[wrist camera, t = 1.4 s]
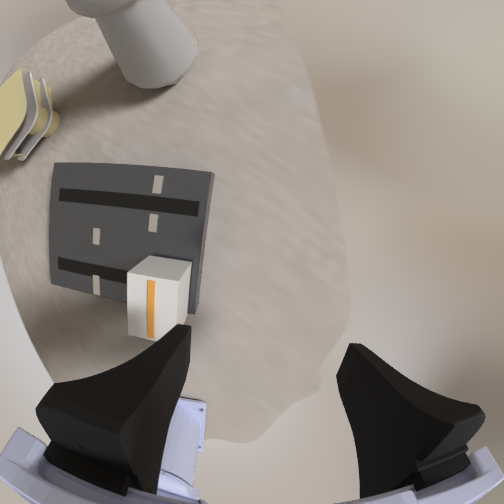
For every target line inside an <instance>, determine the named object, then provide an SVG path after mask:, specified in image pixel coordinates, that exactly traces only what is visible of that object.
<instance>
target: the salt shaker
mask: <svg viewBox="0 0 504 504" xmlns="http://www.w3.org/2000/svg"><path fill="white" fill-rule="evenodd" d="M66 2H67V4H68V5H69V7H70V9H71V10H73V11H74V12H75V13H76V14H79V15H82V16H86V17H90V18H95V19H96V21H97V23H98V25H99V27H100V29H101V31H102V33H103V36H104V38H105V40H106V42H107V44H108V46H109V48H110V50H111V52H112V54H113V56H114V58H115V60H116V62H117V64H118V66H119V68H120V70H121V71H122V73H123V75H124V77H125V79H126V80H127V81H128V82H130V83H132V84H134V85H136V86H138V87H140V88H142V89H145V88H161V87H165V86H170V85H176V84H177V83H178V82H179V81H180V79H181V78H182V77H183V76H184V75H185V74H186V73H187V72H188V71H189V70H190V68H191V66H192V64H193V63H194V61H195V59H196V57H197V40H196V38H195V37H194V36H193V34H192V33H191V31H190V30H189V29H188V27H187V26H186V25H185V23H184V22H183V21H182V19H181V18H180V17H179V16H178V14H177V13H176V12H175V10H174V9H173V8H172V7H171V5H170V4H169V3H168V2H167V0H66Z"/></svg>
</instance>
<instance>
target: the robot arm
mask: <svg viewBox="0 0 504 504" xmlns="http://www.w3.org/2000/svg"><path fill="white" fill-rule="evenodd" d="M190 345H191V326H188V325H182V324H177V325H175V326H174V327H173V328H172V329H171V330H170V331H169V332H167V333H166V334H165V335H164V336H163V337H162V338H160V339H159V340H158V341H157V342H155V343H154V344H153V345H152V346H150V347H149V348H147V349H146V350H145V351H143V352H142V353H140V354H139V355H137V356H136V357H134V358H132V359H131V360H129V361H127V362H125V363H123V364H121V365H119V366H117V367H115V368H112V369H110V370H107V371H105V372H103V373H100V374H97V375H94V376H90V377H87V378H83V379H79V380H74V381H68V382H61V383H54V385H53V386H52V387H51V388H50V389H49V390H48V392H47V393H46V394H45V396H44V397H43V398H42V400H41V401H40V403H39V404H38V406H37V407H36V415H37V417H38V419H39V422H40V423H41V425H42V427H43V428H44V430H45V432H46V433H47V434H48V436H49V438H50V439H51V442H50V444H49V446H47V445H46V444H44V443H43V442H42V441H41V440H39V439H38V438H36V437H35V436H33V435H31V434H29V433H28V432H26V431H25V430H23V429H22V428H20V427H18V428H17V430H16V431H15V432H14V434H13V435H12V437H11V439H10V440H9V442H8V443H7V445H6V446H5V448H4V449H3V451H2V452H1V454H0V479H2V480H3V481H4V482H5V483H6V484H7V485H8V486H9V487H11V488H12V489H13V490H14V491H15V492H17V493H18V494H19V495H20V496H21V497H23V498H24V499H25V500H27V501H28V502H30V503H31V504H207V503H206V502H205V501H204V500H201V499H199V493H200V490H199V489H196V488H193V485H194V476H195V468H196V460H197V453H202V452H203V443H204V430H205V418H206V407H207V404H206V403H205V402H203V401H198V400H191V399H186V398H180V394H181V391H182V389H183V386H184V383H185V380H186V376H187V372H188V367H189V363H190ZM336 378H337V384H338V389H339V393H340V397H341V399H342V402H343V405H344V408H345V411H346V414H347V417H348V419H349V423H350V425H351V428H352V431H353V436H354V440H355V446H356V451H357V458H358V466H359V478H360V499H358V500H352V501H348V502H342V503H335V504H473V503H475V502H476V501H478V500H479V499H480V498H481V497H483V496H484V495H485V494H487V493H488V492H489V491H490V490H492V489H493V488H494V487H495V486H496V485H497V484H499V483H500V482H501V481H502V480H503V479H504V475H503V473H502V471H501V470H500V468H499V467H498V465H497V463H496V461H495V460H494V458H493V457H492V455H491V453H490V452H489V450H488V449H487V447H486V446H484V447H482V448H480V449H479V450H477V451H475V452H473V453H472V454H470V455H469V456H468V457H467V455H466V453H465V452H466V451H468V447H467V445H466V443H467V442H468V441H469V440H470V439H471V438H472V437H473V436H474V435H475V433H476V432H477V431H478V430H479V428H480V427H481V426H482V424H483V423H484V420H485V414H484V412H483V411H482V409H481V408H480V407H479V406H478V405H476V404H470V403H466V402H460V401H457V400H454V399H450V398H447V397H445V396H442V395H439V394H437V393H435V392H432V391H430V390H428V389H426V388H424V387H422V386H420V385H419V384H417V383H415V382H413V381H412V380H410V379H408V378H407V377H405V376H404V375H402V374H401V373H400V372H398V371H397V370H395V369H394V368H393V367H391V366H390V365H389V364H387V363H386V362H385V361H383V360H382V359H381V358H380V357H378V356H377V355H376V354H375V353H373V352H372V351H371V350H369V349H368V348H367V347H365V346H364V345H362V344H357V343H350V344H349V346H348V348H347V351H346V353H345V356H344V358H343V361H342V363H341V366H340V368H339V370H338V373H337V375H336ZM200 408H202V409H200Z"/></svg>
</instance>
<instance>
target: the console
mask: <svg viewBox="0 0 504 504" xmlns="http://www.w3.org/2000/svg"><path fill="white" fill-rule="evenodd" d="M214 175H215V174H214V173H212V172H205V171H197V170H188V169H178V168H168V167H156V166H143V165H128V164H108V163H54V170H53V179H52V189H51V202H50V228H49V244H50V270H51V283H52V284H55V285H58V286H62V287H66V288H70V289H73V290H77V291H81V292H85V293H89V294H94V295H98V296H102V297H106V298H111V299H115V300H120V301H124V302H127V272H128V271H130V270H131V269H132V268H134V267H135V266H136V265H138V264H139V263H140V262H141V261H143V260H144V259H145V258H147V257H148V256H149V255H150V256H156V257H163V258H169V259H176V260H182V261H189V262H192V264H191V274H190V285H189V297H188V310H187V313H188V314H194V315H195V312H196V309H197V306H198V304H199V293H200V283H201V274H202V265H203V256H204V247H205V239H206V231H207V224H208V216H209V209H210V202H211V195H212V188H213V182H214Z"/></svg>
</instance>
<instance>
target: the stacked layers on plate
mask: <svg viewBox="0 0 504 504" xmlns="http://www.w3.org/2000/svg"><path fill="white" fill-rule="evenodd" d="M58 125H59V115H58V113H57V112H55V111H53V107H52V98H51V88H50V86H48V85H45V82H44V78H40V79H39V80H38V81H37V80H34V79H32V74H31V72H28V73H26V74H25V75H24V76H23V77H22V71H21V68H19V69H18V70H17V71H16V72H15V73H14V74H13V75H12V76H11V77H10V78H9V79H8V80H7V81H6V82H5V83H4V84H3V85H2V86H1V87H0V158H2V159H5V160H9V159H10V158H11V157H12V158H14V159H17V160H20V161H23V160H24V159H25V158H26V157H27V156H28V154H29V153H30V152H31V150H32V149H33V148H34V147H35V145H36V144H37V143H38V141H39V140H40V139H41V138H42V137H50V136H51V135H53V134H54V132H55V131H56V129H57V127H58Z"/></svg>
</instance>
